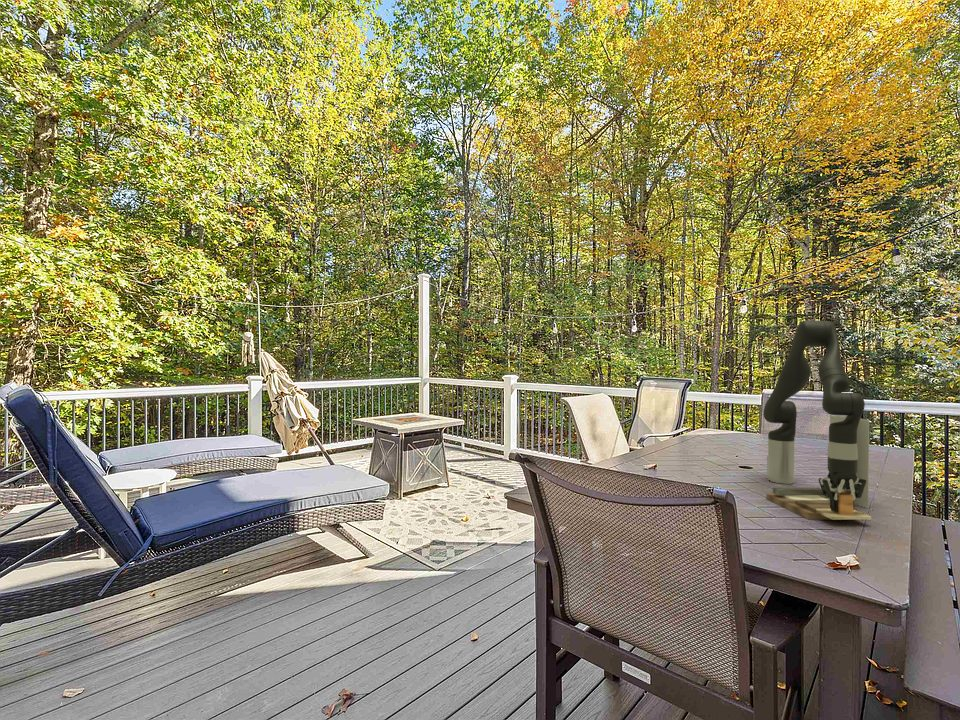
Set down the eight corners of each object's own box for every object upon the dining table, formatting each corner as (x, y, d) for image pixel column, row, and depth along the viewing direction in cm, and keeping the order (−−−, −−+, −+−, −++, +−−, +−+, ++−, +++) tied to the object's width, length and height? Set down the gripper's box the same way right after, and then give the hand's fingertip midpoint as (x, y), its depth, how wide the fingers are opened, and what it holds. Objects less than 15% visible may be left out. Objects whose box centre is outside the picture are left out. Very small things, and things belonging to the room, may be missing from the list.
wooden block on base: (813, 511, 155) (814, 490, 155) (850, 510, 155) (850, 489, 155) (832, 519, 147) (832, 497, 147) (871, 519, 147) (871, 497, 147)
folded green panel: (868, 508, 164) (869, 420, 164) (850, 507, 165) (851, 420, 165) (845, 496, 178) (846, 415, 178) (829, 495, 179) (829, 415, 179)
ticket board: (766, 498, 175) (766, 485, 175) (815, 498, 176) (815, 485, 176) (808, 519, 153) (808, 504, 153) (864, 519, 154) (864, 504, 154)
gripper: (855, 453, 155) (854, 507, 155) (811, 454, 155) (811, 507, 155) (874, 459, 147) (874, 515, 148) (828, 459, 147) (828, 515, 147)
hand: (841, 510), depth 151 cm, fingers closed on wooden block on base, 4 cm apart
